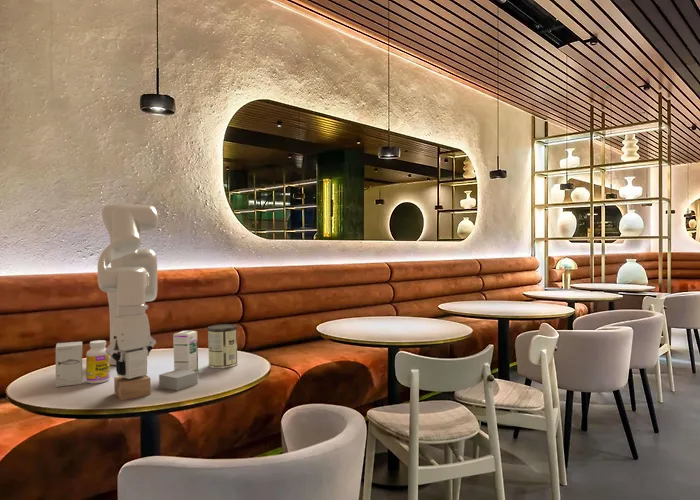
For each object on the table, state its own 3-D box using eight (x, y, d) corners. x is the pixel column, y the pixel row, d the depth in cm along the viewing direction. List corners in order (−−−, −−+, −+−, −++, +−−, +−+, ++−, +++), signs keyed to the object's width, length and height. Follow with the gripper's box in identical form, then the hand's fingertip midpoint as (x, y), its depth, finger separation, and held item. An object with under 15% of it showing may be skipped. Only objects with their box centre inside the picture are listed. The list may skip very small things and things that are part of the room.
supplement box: (55, 387, 151) (54, 346, 150) (56, 381, 157) (56, 342, 157) (82, 384, 154) (81, 344, 154) (83, 378, 161) (82, 340, 160)
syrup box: (189, 377, 160) (189, 333, 160) (173, 376, 162) (172, 333, 162) (198, 373, 166) (198, 330, 166) (182, 372, 167) (182, 330, 167)
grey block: (159, 387, 150) (159, 374, 150) (180, 381, 157) (179, 368, 157) (177, 391, 146) (177, 378, 146) (197, 384, 153) (197, 371, 153)
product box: (116, 376, 143) (116, 351, 143) (135, 371, 148) (135, 347, 148) (128, 379, 139) (128, 353, 139) (147, 374, 144) (147, 349, 144)
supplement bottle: (94, 385, 153) (93, 344, 152) (82, 382, 156) (81, 342, 156) (114, 380, 158) (113, 340, 158) (102, 377, 162) (101, 338, 162)
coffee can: (216, 361, 183) (215, 323, 183) (241, 362, 181) (241, 324, 181) (203, 368, 173) (202, 328, 173) (230, 369, 171) (229, 329, 171)
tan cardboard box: (114, 394, 144) (114, 377, 144) (142, 389, 149) (142, 372, 149) (121, 400, 138) (120, 383, 138) (150, 395, 143) (150, 378, 143)
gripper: (149, 306, 152) (150, 364, 153) (95, 313, 138) (96, 376, 138) (164, 308, 148) (165, 367, 149) (110, 315, 134) (111, 380, 134)
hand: (132, 371), depth 143 cm, fingers closed on product box, 6 cm apart
